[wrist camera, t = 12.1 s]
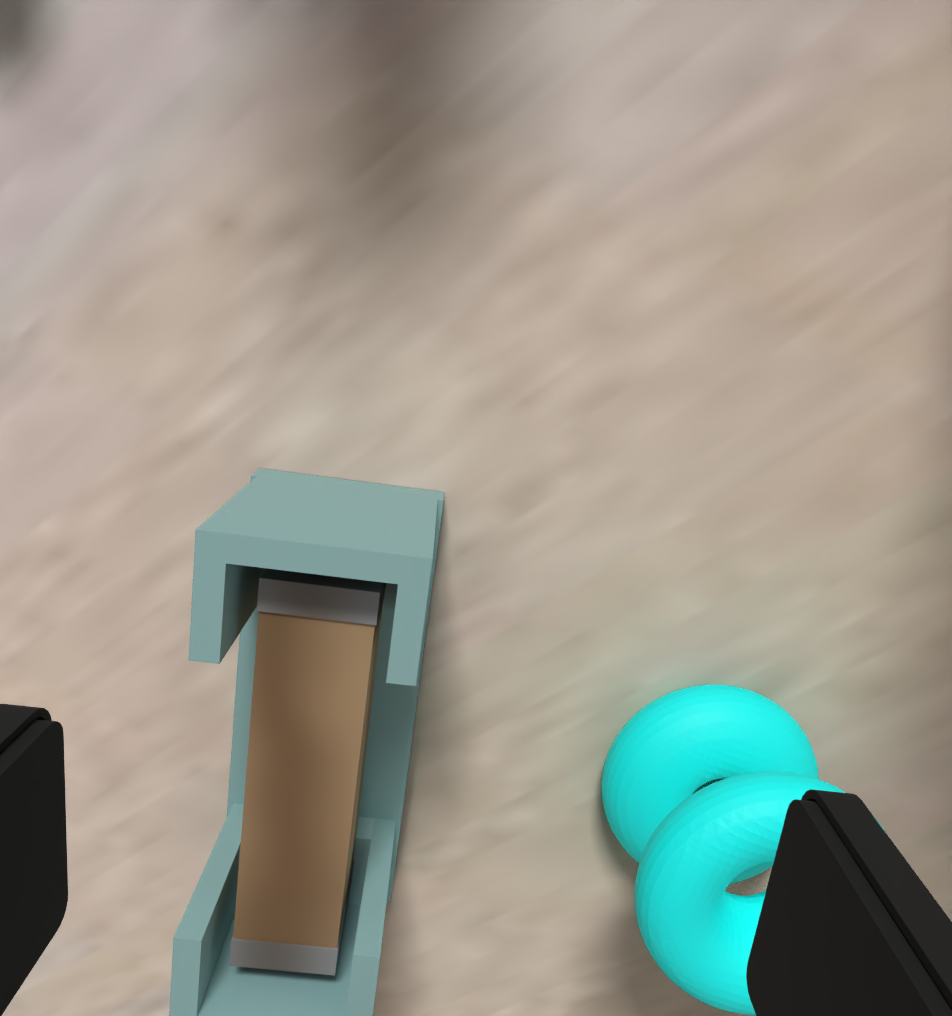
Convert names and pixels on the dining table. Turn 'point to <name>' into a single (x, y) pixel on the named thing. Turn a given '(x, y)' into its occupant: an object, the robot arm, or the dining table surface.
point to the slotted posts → (214, 627)
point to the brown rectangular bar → (304, 768)
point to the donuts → (705, 825)
